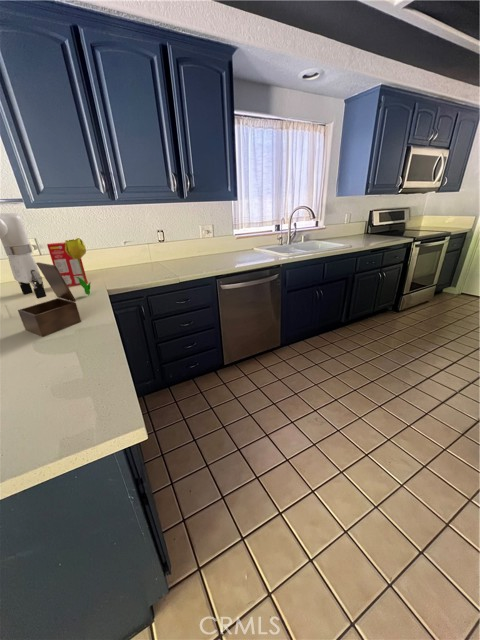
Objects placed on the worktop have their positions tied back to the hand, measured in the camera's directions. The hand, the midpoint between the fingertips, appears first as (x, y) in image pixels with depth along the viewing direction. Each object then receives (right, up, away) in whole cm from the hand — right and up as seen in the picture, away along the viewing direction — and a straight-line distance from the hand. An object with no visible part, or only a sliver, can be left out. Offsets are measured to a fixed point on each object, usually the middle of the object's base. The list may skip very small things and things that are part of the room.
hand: (34, 295), depth 102 cm
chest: (+2, -12, +8) cm, 15 cm away
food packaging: (-24, +13, +63) cm, 68 cm away
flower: (-4, +4, +43) cm, 43 cm away
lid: (+4, +6, +6) cm, 9 cm away
